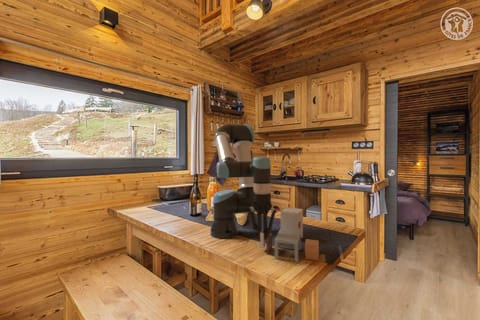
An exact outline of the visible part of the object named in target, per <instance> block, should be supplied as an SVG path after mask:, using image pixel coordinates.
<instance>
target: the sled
mask: <svg viewBox="0 0 480 320" xmlns="http://www.w3.org/2000/svg"><path fill="white" fill-rule="evenodd" d="M265 246H266V247H265V248H266V255H269V256H275V247H273V233H272V232H269V234H267V238H266V240H265ZM278 257H283V258H288V259H289V258H290V259H295V250H294V249H286V248H278ZM298 260H303V261H311V262H319V263H324V264H325V263H326V254H322V253H319V260H312V259H305V248H304V249H302V251H301V250H298Z"/></svg>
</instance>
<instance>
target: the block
mask: <svg viewBox="0 0 480 320" xmlns="http://www.w3.org/2000/svg"><path fill="white" fill-rule="evenodd" d="M319 244H320V242H319V240H317V239H305V242H304V249H305V259H312V260H319V254H320V250H319V248H320V247H319Z"/></svg>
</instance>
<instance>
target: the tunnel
mask: <svg viewBox="0 0 480 320" xmlns="http://www.w3.org/2000/svg"><path fill="white" fill-rule="evenodd" d="M274 248H275V255H274V260H279V256H278V249H287V250H294V251H295V258H294V262H295V263H298V262H299V259H298V251H301V250H302V238H301V231H296V230H286V229H281V228H280V229H279V230H278V232H277V234H276V236H275V238H274Z"/></svg>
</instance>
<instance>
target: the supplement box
mask: <svg viewBox="0 0 480 320" xmlns="http://www.w3.org/2000/svg"><path fill="white" fill-rule="evenodd" d="M303 211H304V208H296V207H289V206H288V207H285V208H283V209H282V210H280V229H286V230H296V231H301V239H302V238H304V226H303V225H304V222H303V221H304V216H303V215H304V212H303Z"/></svg>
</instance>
